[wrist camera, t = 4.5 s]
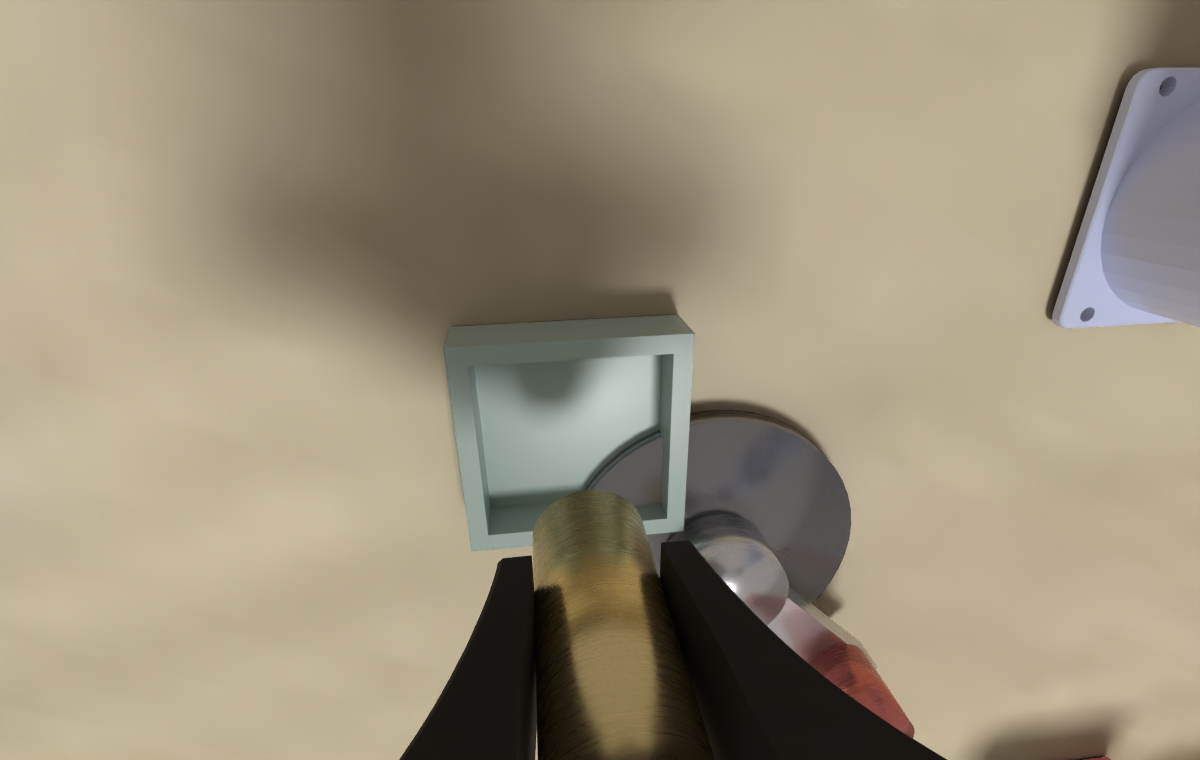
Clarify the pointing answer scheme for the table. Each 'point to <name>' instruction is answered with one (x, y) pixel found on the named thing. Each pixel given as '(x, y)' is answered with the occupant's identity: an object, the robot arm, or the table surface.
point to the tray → (565, 415)
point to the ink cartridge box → (1102, 759)
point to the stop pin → (607, 640)
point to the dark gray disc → (748, 489)
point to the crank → (791, 611)
